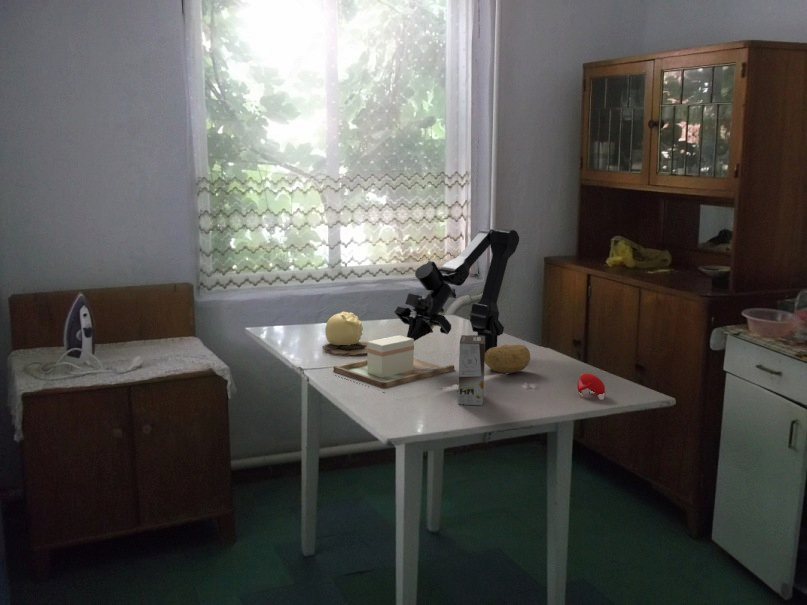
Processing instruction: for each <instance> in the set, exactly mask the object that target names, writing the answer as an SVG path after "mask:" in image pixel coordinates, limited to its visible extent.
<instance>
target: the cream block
mask: <svg viewBox="0 0 807 605" xmlns="http://www.w3.org/2000/svg"><path fill="white" fill-rule="evenodd" d="M414 350H415V341H414V339H412V338H408V337H407V336H403V335H400V334H399V335H398V334H397V335H393V336H389V337H385V338H378V339H372V340H369V341H367V349H366V352H367V359H366V360H367V373H369V374H372V375H375V376H378V377H381V378H382V377H386V376H390V375H394V374H399V373H403V372H407V371H411V370H413V364H414V359H415V357H414V356H415V355H414V354H415V353H414V352H415V351H414Z"/></svg>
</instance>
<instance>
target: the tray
mask: <svg viewBox="0 0 807 605" xmlns="http://www.w3.org/2000/svg"><path fill="white" fill-rule="evenodd" d="M431 368H434V369H431ZM427 369H429V370H427ZM424 370H426V371H424ZM451 371H455V364H448V365H445V366H442V365H437V364H435V363H432V362H428V361H425V360H421V359H416V358H414V364H413V370H411V371H407V372H403V373H399V374H394V375H390V376H386V377H382V378H381V377H378V376H375V375H372V374H369V373H367V359H363V360H358V361H355V362H354V361H352V362H350V363H348V362H347V363H345V364H340V365H335V366H333V372H335V373H337V374H340V375H343V376H347V377H349V378H352V379H355V380H359V381H361V382H365V383H367V384H370V385H373V386H377V387H379V388H382V389H384V388H385V389H386V388H388V387H393V386H397V385H401V384H405V383H409V382H413V381H416V380H421V379H425V378H429V377H433V376H437V375H440V374H444V373H447V372H451ZM334 375H335V374H334ZM337 376H338V377H337ZM335 377H337V378H340V377H341V376H339V375H335ZM343 378H344V377H341V379H343ZM343 380H347V381H349V380H350V379H347V378H344V379H343ZM352 381H353V380H350V381H349V382H352ZM355 382H356V381H353V382H352V383H355ZM358 383H359V384H358ZM355 384H358V385H360V384H362V383H360V382H356V383H355ZM363 385H365V384H362V385H361V386H363ZM366 386H368V385H365V386H364V387H366ZM369 387H370V386H368V387H367V388H369Z"/></svg>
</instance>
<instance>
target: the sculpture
mask: <svg viewBox="0 0 807 605" xmlns="http://www.w3.org/2000/svg"><path fill="white" fill-rule="evenodd" d="M324 331H325V337H326V340H327V342H328V343H329V344H330V345H334V346H340V345H351V344H355V343H356V344H357V343H359V341H360V340H361V339H362V336H363V331H364V328H363V323H362V321H361V320H360V319H359V316H357V315H355V313H353V312H348V311H341V312H339V313H335V314H334V315H332V316H331V317H330V318H329V319H328V320H327V322H326V325H325V329H324ZM356 344H355V345H356Z"/></svg>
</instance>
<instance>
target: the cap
mask: <svg viewBox="0 0 807 605" xmlns="http://www.w3.org/2000/svg"><path fill="white" fill-rule="evenodd" d="M576 388H577V391H578V393H579V392H580V393H582V394H583V392H582V391H584V390H587V389H588V390H589V391H590V390H591V391H593V392H595V393H594V394H595V396H596V395H599V394H603V393H605V394H606V391H605V390H606V387H605V384H604V382H603V381H602V379H600V377H598V376H597V375H594V374H592V373H589V372H588V373H587V372H586V373H582V374H580V376H579V380H578V382H577V386H576Z"/></svg>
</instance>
